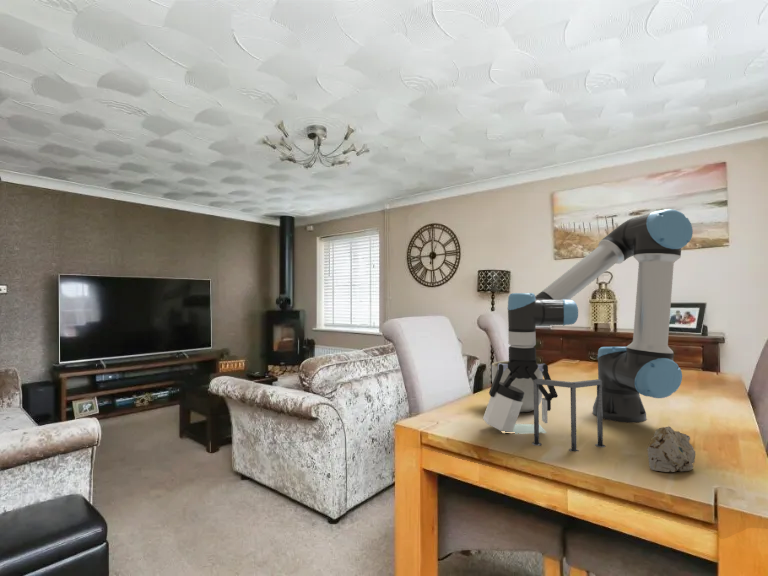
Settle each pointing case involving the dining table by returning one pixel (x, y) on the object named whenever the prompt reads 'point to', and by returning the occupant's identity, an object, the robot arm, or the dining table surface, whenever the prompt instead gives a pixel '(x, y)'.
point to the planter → (521, 386)
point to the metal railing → (573, 408)
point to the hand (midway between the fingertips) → (523, 421)
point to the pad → (526, 429)
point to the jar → (504, 408)
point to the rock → (670, 451)
